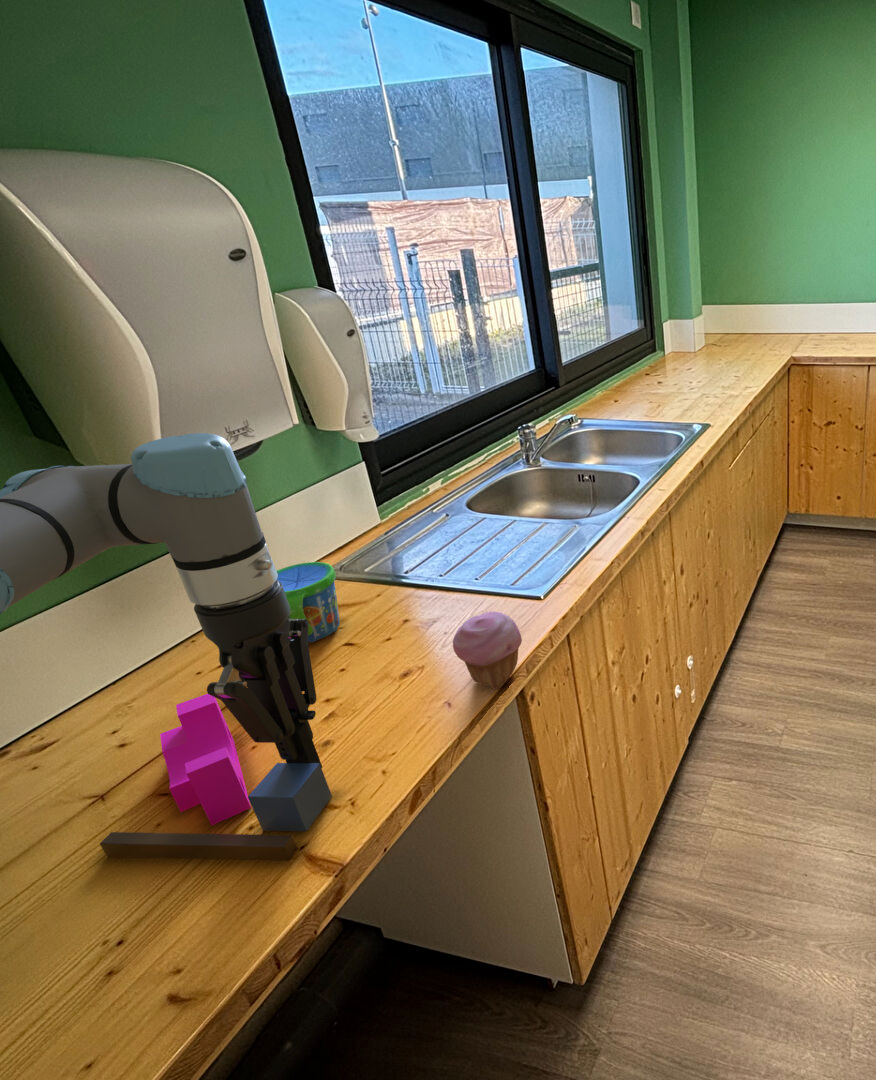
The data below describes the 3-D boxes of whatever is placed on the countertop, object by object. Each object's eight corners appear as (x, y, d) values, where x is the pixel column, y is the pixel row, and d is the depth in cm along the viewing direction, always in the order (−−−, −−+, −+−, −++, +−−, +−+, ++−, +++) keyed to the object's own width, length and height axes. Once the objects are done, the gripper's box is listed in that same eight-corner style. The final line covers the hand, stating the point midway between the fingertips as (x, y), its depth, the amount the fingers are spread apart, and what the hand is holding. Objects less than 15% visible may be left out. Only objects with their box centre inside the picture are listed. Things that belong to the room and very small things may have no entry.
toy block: (174, 762, 86) (150, 713, 83) (233, 739, 89) (212, 691, 86) (184, 837, 75) (157, 785, 72) (250, 808, 79) (228, 757, 75)
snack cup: (289, 614, 117) (270, 560, 113) (357, 602, 120) (341, 549, 116) (265, 666, 104) (242, 607, 99) (342, 651, 106) (323, 594, 102)
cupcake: (450, 688, 97) (434, 627, 93) (493, 654, 104) (481, 596, 100) (499, 704, 93) (485, 641, 89) (540, 668, 100) (530, 609, 96)
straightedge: (107, 857, 73) (99, 843, 72) (119, 845, 74) (111, 831, 74) (289, 860, 72) (283, 846, 71) (298, 848, 73) (292, 834, 72)
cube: (262, 831, 75) (247, 796, 73) (290, 795, 80) (276, 762, 78) (306, 831, 75) (292, 797, 73) (332, 796, 80) (319, 762, 77)
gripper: (227, 626, 63) (305, 817, 73) (311, 560, 75) (368, 732, 85) (149, 627, 63) (237, 816, 74) (245, 561, 75) (309, 732, 85)
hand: (307, 771), depth 79 cm, fingers closed
